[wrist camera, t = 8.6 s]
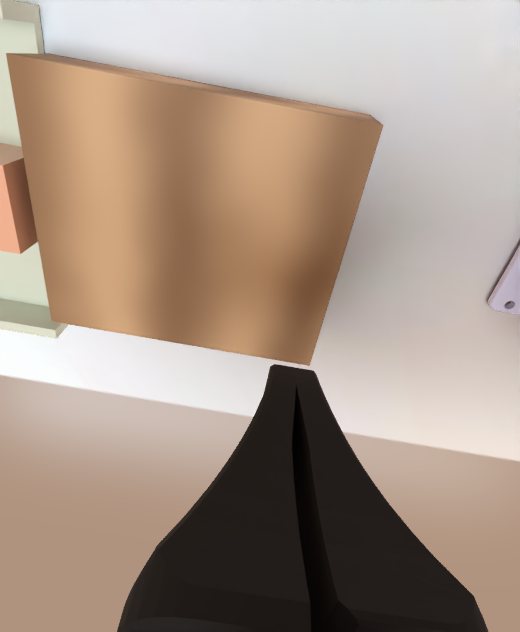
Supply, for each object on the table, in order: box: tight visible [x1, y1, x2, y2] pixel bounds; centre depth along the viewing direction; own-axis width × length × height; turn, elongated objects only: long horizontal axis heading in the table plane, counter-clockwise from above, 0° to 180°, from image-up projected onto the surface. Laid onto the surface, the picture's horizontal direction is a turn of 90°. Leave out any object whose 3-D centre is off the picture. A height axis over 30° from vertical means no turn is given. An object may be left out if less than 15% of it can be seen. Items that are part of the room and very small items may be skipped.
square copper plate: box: [6, 53, 383, 365], centre depth 19 cm, size 14×12×3 cm
